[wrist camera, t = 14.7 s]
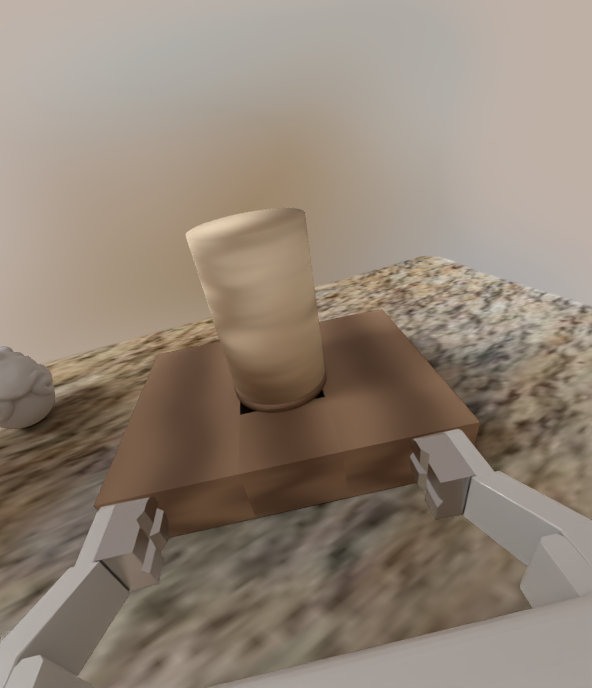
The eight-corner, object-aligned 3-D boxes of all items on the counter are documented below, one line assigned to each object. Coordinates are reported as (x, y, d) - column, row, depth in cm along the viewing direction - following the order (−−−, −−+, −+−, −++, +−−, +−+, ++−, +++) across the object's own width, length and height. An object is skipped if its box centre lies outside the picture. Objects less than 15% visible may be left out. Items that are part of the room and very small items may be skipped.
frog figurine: (52, 388, 33) (10, 330, 30) (85, 408, 30) (43, 344, 26) (-18, 429, 29) (-76, 368, 26) (11, 457, 26) (-52, 390, 22)
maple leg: (230, 424, 24) (162, 236, 17) (287, 379, 28) (251, 208, 21) (291, 467, 20) (236, 244, 13) (348, 407, 24) (330, 207, 17)
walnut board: (127, 546, 18) (93, 505, 16) (173, 389, 30) (157, 354, 28) (469, 470, 19) (480, 421, 17) (382, 346, 31) (382, 309, 29)
